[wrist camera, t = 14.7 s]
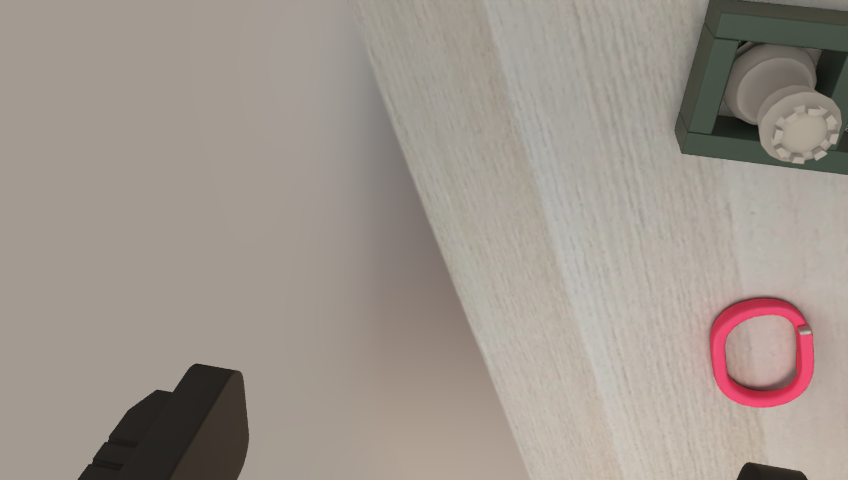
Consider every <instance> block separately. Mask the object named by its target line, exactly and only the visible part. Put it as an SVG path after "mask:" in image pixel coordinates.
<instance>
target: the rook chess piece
mask: <svg viewBox="0 0 848 480" xmlns="http://www.w3.org/2000/svg"><path fill="white" fill-rule="evenodd" d="M816 82H817V78H816V71H815V64H814V62H813V61H812V59H811V57H810V55H809V54H808V53H807V51H806V50H805V49H804V47H796V46H787V45H778V44H769V43H760V42H751V41H748V42H747V43H745V44H744V45H743V46H741V47H740V48H738V49H737V52H736V56H735V59H734V62H733V65H732V69H731V72H730V75H729V79H728V82H727V85H726V88H725V92H724V95H723V98H722V101H723V102H724V103H725V105H726V106H727V107H728V108H729V110H730V111H731V112H732V113H733V114H734V116H735V117H737V118H739V119H741V120H743V121H745V122H747V123H750V124H752V125H758V127H759V135H760V141H761V145H762V147H763V148H764V149H765V150H766V152H767V153H768V154H769V155H770V156H772V157H774V158H776V159H778V160H781V161H786V162H791V163H799V164H804V160H808V159H812V158H815V159H816V161H817V160H818V159H820V158H822V157H823V156H825V155H827V153H826V150H827V149H828V148H829V147H830V146H831V144H836V142H837V139H838V136H839V131H840V128H841V125H842V120H841V113H840V109H839V108H838V107H837V105H836V104H835V103H834V101H833V100H832V99H830V98H828V97H826V96H824V95H822V94H820V93H818V92H817V91H815V90H814V88H815V85H816Z"/></svg>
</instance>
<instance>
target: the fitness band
mask: <svg viewBox="0 0 848 480" xmlns="http://www.w3.org/2000/svg"><path fill="white" fill-rule="evenodd" d="M762 315H779V316H782V317H785V318H787V319H788V320H789V321H790V322H791V323H792V324H793V325H794V328H795V331H796V340H797V354H796V369H797V372H798V373H797V375H796V377H795V379H794V380H793V381H792V382H791V383H790V384H789V385H787V386H786V387H784V388H781V389H778V390H774V391H754V390H750V389H747V388H744V387H742V386H740V385H738V384H737V383H735V382H734V381H733V380H732V379H731V378H730V377H729V375H728V373H727V367H726V355H725V341H726V338H727V336H728V334H729V333H730V332H731V330H732V329H733V328H734V327H735V326H737V325H738V324H739V323H741V322H743V321H745V320H747V319H750V318H752V317H756V316H762ZM710 345H711V358H712V366H713V372H714V377H715V380H716V382H717V384H718V386H719V388H720V390H721V391H722V392H723V393H724V394H725V395H726V396H727V397H728V398H730V399H731V400H733V401H735V402H737V403H739V404H742V405H746V406H751V407H759V408H764V407H774V406H778V405H782V404H785V403H788V402H790V401H792V400H794V399H795V398H797V397H798V396H800V395H801V394H802V393H803V392H804V391H805V389H806V388H807V387H808V385H809V383H810V381H811V378H812V375H813V369H814V350H813V335H812V330H811V327H810V326H809V325H807V323H806V321H805V319H804V317H803V316H802V314H801V313H800V312H799V311H798V310H797V309H796V308H795V307H794V306H792V305H790V304H789V303H786V302H784V301H780V300H776V299H753V300H748V301H744V302H740V303H738V304H735V305H733V306H731V307H729V308H728V309H726V310H725V311H724V312H723V313H722V314H721V315H720V316H719V317H718V318H717V319H716V321H715V322H714V324H713V326H712V329H711V335H710Z"/></svg>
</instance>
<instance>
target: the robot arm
mask: <svg viewBox="0 0 848 480" xmlns="http://www.w3.org/2000/svg"><path fill="white" fill-rule="evenodd" d="M248 442H249V431H248V420H247V410H246V401H245V390H244V380H243V376H242V373H241V372H240V371H236V370H231V369H224V368H219V367H213V366H208V365H202V364H194V365H192V366H191V367H190V368H189V369H188V371H187V372H186V373H185V375H184V376H183V378H182V380H181V381H180V382H179V384H178V385H177V387H176V388H175V390H174V391H173V392H167V391H162V390H156V391H154V392H153V393H151V394H150V395H149V396H147V397H146V398H144V399H143V400H142V401H140V402H139V403H138V404H136V405H135V406H133V407H132V408H131V409H129V410H128V411H127V413H126V414H125V415H124V417H123V418H122V420H121V421H120V422H119V424H118V425H117V426H116V428H115V429H114V430H113V432H112V433H111V434H110V436H109V440H108V442H105V443H104V444H103V445H102V447H101V448H100V450H99V451H98V452H97V454H96V455H95V457H94V458H93V462H92V464H89V465H88V466H87V467H86V469H85V470H84V471H83V473H82V474H81V476H80V477H79V478H78V480H237V478H238V476H239V474H240V472H241V470H242V467H243V465H244V461H245V458H246V453H247V449H248ZM737 480H808V479H807V478H806V476H805V475H804V474H803V473H802V472H801V471H796V470H790V469H785V468H779V467H773V466H768V465H762V464H756V463H751V462H748V463H746V464H745V465H744V466H743V467H742V469H741V471H740V474H739V476H738V478H737Z"/></svg>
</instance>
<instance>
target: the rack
mask: <svg viewBox="0 0 848 480" xmlns="http://www.w3.org/2000/svg"><path fill="white" fill-rule="evenodd" d="M739 40H742V41H751V42H760V43H769V44H778V45H787V46H796V47H805V48H815V49H824V50H823V52H822V55H821V58H820V60H819V63H818V66H817V68H816V78H817V82H816V85H815V88H814V90H815V91H817V92H818V93H820V94H822V95H824V96H826V97H828V98H830V99H832V100H833V101H834V103H835V104H836V105H837V107H838V108H839V109H840V113H841V120H842V125H841V128H840V131H839V136H838V139H837V142H836V144H831V146H830V147H829V148H828V149H827V150H826V153H827V155H825V156H823V157H822V158H820V159H818V160H817V161H816V159H815V158H812V159H808V160H804V164H799V163H791V162H786V161H781V160H778V159H776V158H774V157H772V156H770V155H769V154H768V153H767V152H766V150H765V149H764V148H763V147H762V145H761V141H760V135H759V127H758V125H752V124H750V123H747V122H745V121H743V120H741V119H739V118H732V117H724V116H717V115H718V111H719V108H720V105H721V101H722V98H723V95H724V92H725V88H726V85H727V82H728V79H729V75H730V72H731V69H732V65H733V62H734V59H735V56H736V52H737V49H738V46H739ZM847 123H848V12H846V11H837V10H827V9H818V8H808V7H798V6H789V5H779V4H769V3H760V2H750V1H740V0H710V3H709V7H708V10H707V14H706V18H705V23H704V25H703V29H702V32H701V36H700V40H699V43H698V47H697V51H696V54H695V58H694V62H693V65H692V69H691V73H690V76H689V80H688V84H687V87H686V91H685V95H684V98H683V102H682V105H681V109H680V112H679V116H678V119H677V123H676V127H675V130H674V131H675V134H676V138H677V141H678V144H679V147H680V150H681V153H682V154H689V155H697V156H705V157H713V158H720V159H728V160H736V161H744V162H751V163H759V164H767V165H775V166H782V167H790V168H798V169H806V170H814V171H821V172H829V173H837V174H845V175H848V132H847V131H844V130H845V128H846V125H847Z"/></svg>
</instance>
